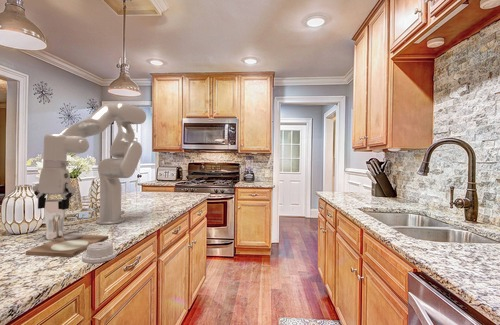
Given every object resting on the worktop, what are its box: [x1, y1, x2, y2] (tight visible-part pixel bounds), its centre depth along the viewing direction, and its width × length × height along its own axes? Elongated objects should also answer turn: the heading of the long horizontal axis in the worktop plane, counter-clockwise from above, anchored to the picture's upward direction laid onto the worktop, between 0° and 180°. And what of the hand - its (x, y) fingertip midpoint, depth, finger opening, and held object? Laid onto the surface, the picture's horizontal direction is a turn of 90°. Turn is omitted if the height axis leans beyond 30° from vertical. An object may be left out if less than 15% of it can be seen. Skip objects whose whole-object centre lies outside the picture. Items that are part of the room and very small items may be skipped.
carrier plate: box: [25, 232, 109, 258], centre depth 98 cm, size 20×16×2 cm
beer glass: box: [43, 198, 67, 241], centre depth 107 cm, size 7×7×15 cm
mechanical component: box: [81, 241, 118, 264], centre depth 88 cm, size 10×4×10 cm
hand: (53, 208), depth 106 cm, fingers open, 9 cm apart
